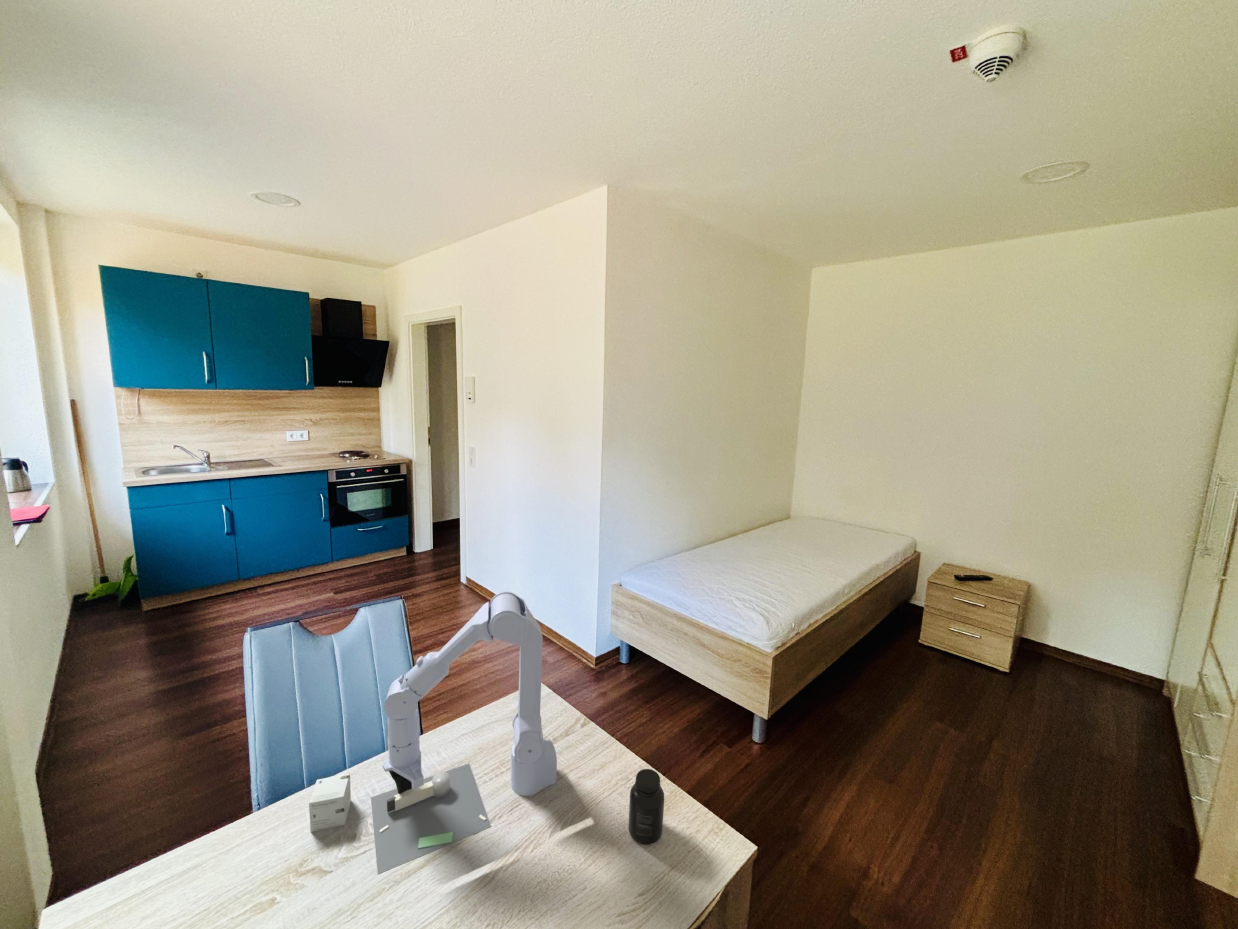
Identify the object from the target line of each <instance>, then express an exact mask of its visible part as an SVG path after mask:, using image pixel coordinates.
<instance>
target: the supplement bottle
mask: <svg viewBox="0 0 1238 929" xmlns="http://www.w3.org/2000/svg"><path fill="white" fill-rule="evenodd" d="M628 810H629V811H628V832H629V835H630V837H631V838H632V839H633V841H635V842H636V843H638V844H640V845H644V846H649V845H653V844H656V843H657V842H658V841H659V840H660V839H661V837H662V835H663V828H664V827H663V826H664V813H665V812H664V811H665V792H664V789H663V788H662V786H661V777H660V775H659V773H658V772H657V771H655V770H654V769H652V768H651V769H650V768H644V769H640V770H639V771H637V773H636V775H635V783H633V785H632V786H631V788H630V792H629V807H628Z"/></svg>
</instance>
